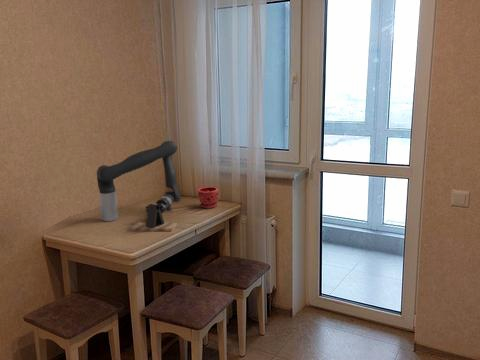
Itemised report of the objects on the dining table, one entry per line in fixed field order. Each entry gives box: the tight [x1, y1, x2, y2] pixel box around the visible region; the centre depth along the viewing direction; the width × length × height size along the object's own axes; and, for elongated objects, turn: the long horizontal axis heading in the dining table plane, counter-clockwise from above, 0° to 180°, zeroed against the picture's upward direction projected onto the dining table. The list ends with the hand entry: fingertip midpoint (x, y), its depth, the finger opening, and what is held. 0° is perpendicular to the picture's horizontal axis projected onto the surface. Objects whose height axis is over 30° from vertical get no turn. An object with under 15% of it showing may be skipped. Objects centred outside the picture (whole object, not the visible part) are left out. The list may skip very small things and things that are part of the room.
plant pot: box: [197, 186, 219, 209], centre depth 276 cm, size 13×13×12 cm
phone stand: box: [145, 203, 165, 228], centre depth 236 cm, size 9×6×12 cm, turn 146°
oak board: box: [129, 221, 177, 232], centre depth 237 cm, size 24×10×2 cm, turn 82°
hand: (154, 211), depth 239 cm, fingers open, 8 cm apart
